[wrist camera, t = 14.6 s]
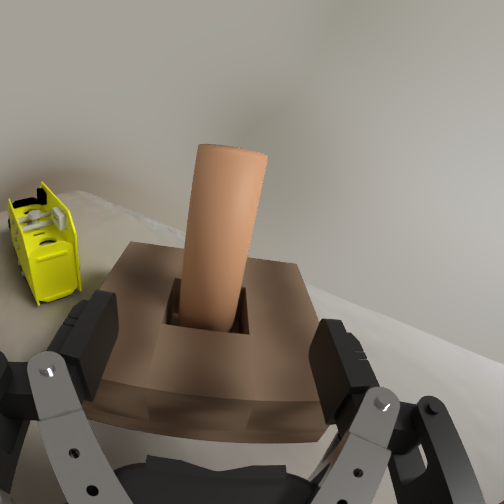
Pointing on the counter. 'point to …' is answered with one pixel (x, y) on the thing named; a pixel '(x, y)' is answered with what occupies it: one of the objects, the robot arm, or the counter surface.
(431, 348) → the counter surface
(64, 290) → the yellow toy chassis
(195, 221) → the pin
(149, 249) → the socket block
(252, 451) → the counter surface
